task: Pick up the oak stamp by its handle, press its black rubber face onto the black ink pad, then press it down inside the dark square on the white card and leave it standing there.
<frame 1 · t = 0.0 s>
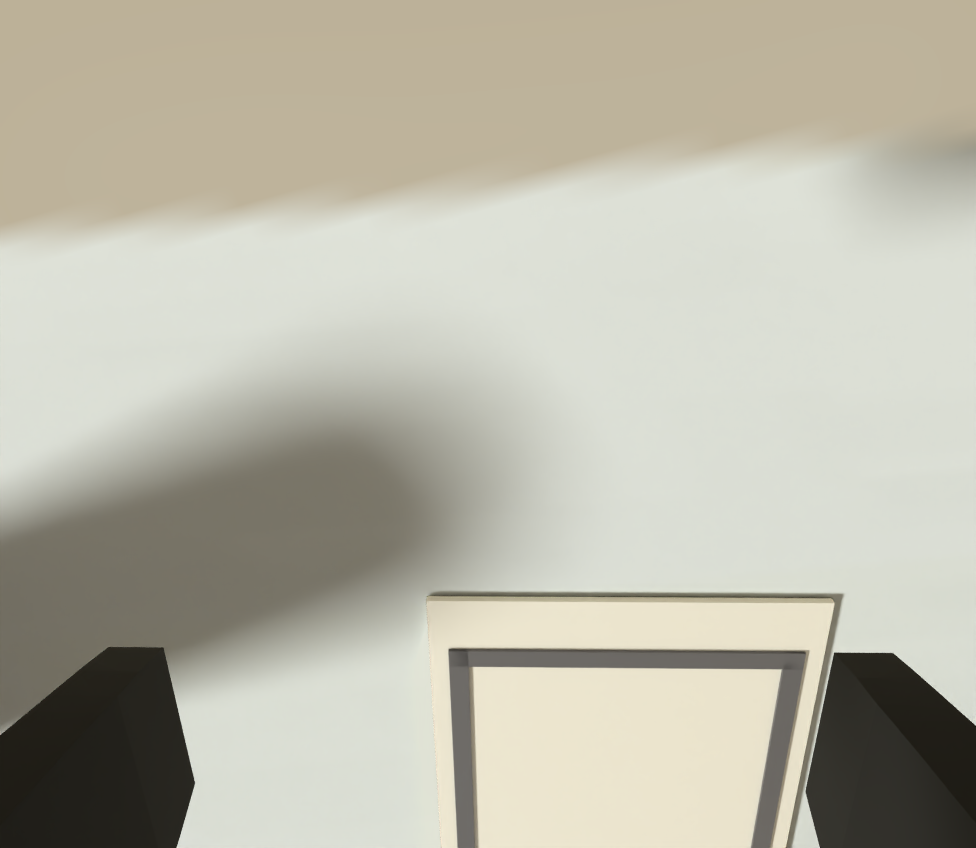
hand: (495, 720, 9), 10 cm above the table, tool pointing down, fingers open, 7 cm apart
marked card: (615, 771, 23), on the table
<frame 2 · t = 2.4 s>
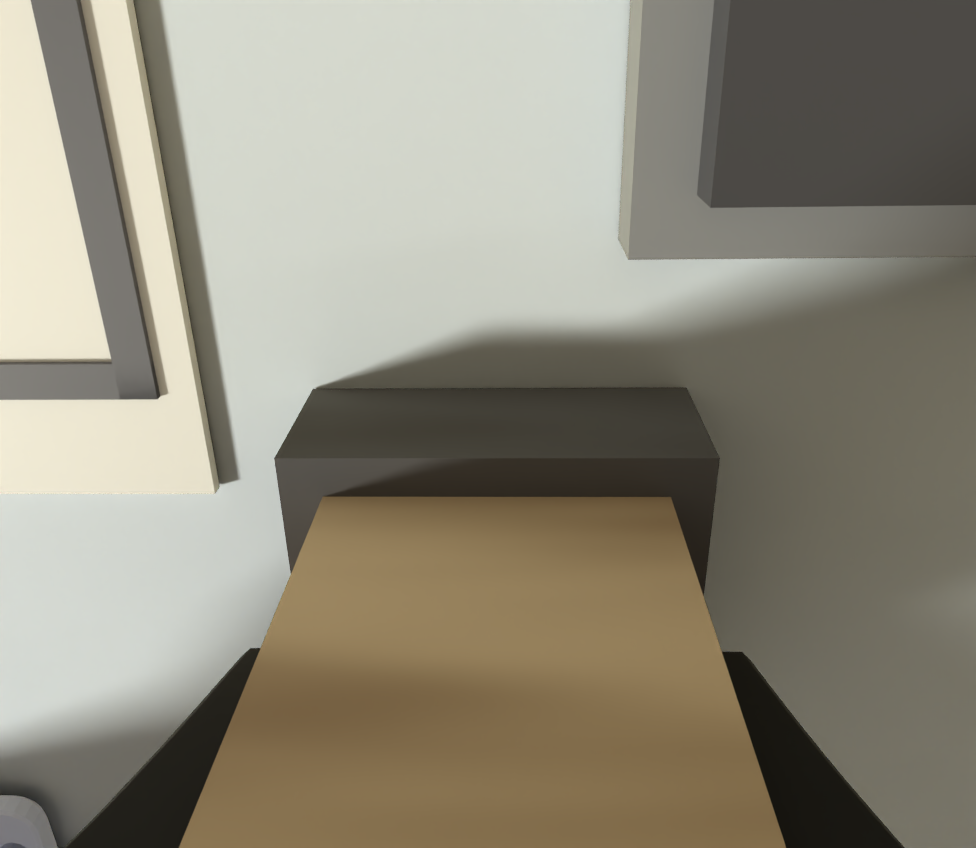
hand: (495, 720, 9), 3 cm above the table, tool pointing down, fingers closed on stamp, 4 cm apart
stamp: (500, 545, 12), on the table, touching gripper
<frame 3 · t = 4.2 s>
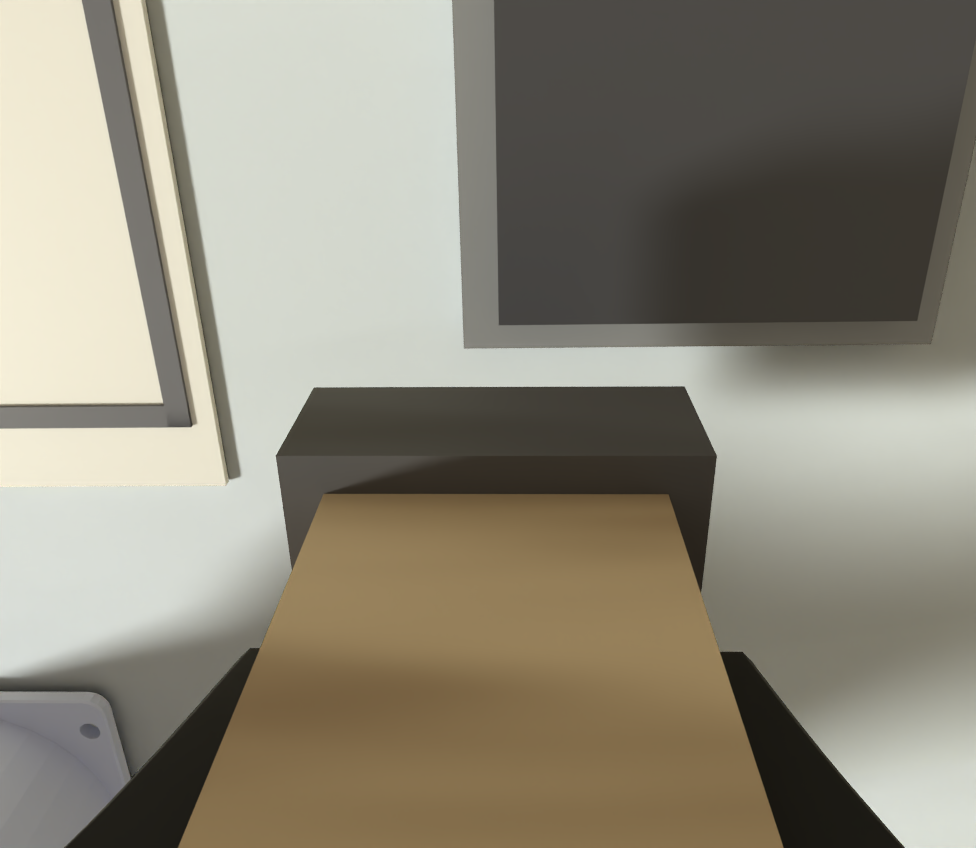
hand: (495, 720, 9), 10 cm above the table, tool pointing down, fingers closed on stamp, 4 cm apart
ink pad: (705, 94, 15), on the table
stamp: (499, 542, 12), point 6 cm above the table, touching gripper
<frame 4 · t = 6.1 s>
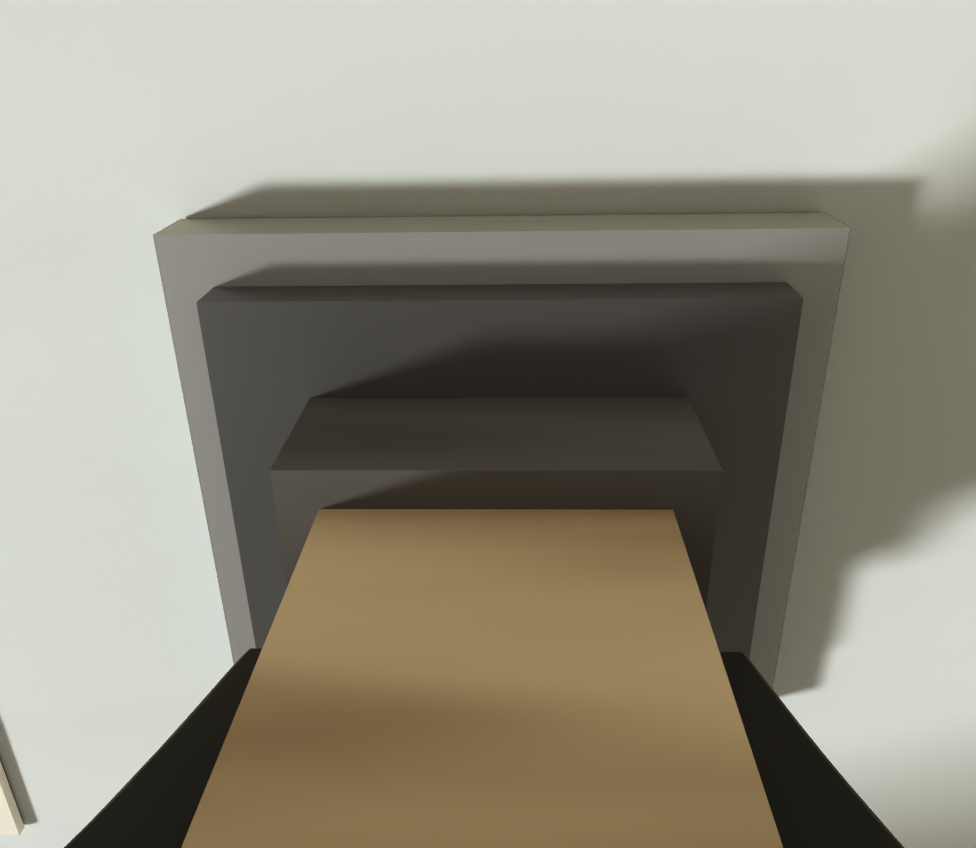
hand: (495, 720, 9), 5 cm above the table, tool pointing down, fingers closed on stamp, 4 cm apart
ink pad: (501, 494, 14), on the table
stamp: (499, 555, 12), point 2 cm above the table, touching gripper, ink pad
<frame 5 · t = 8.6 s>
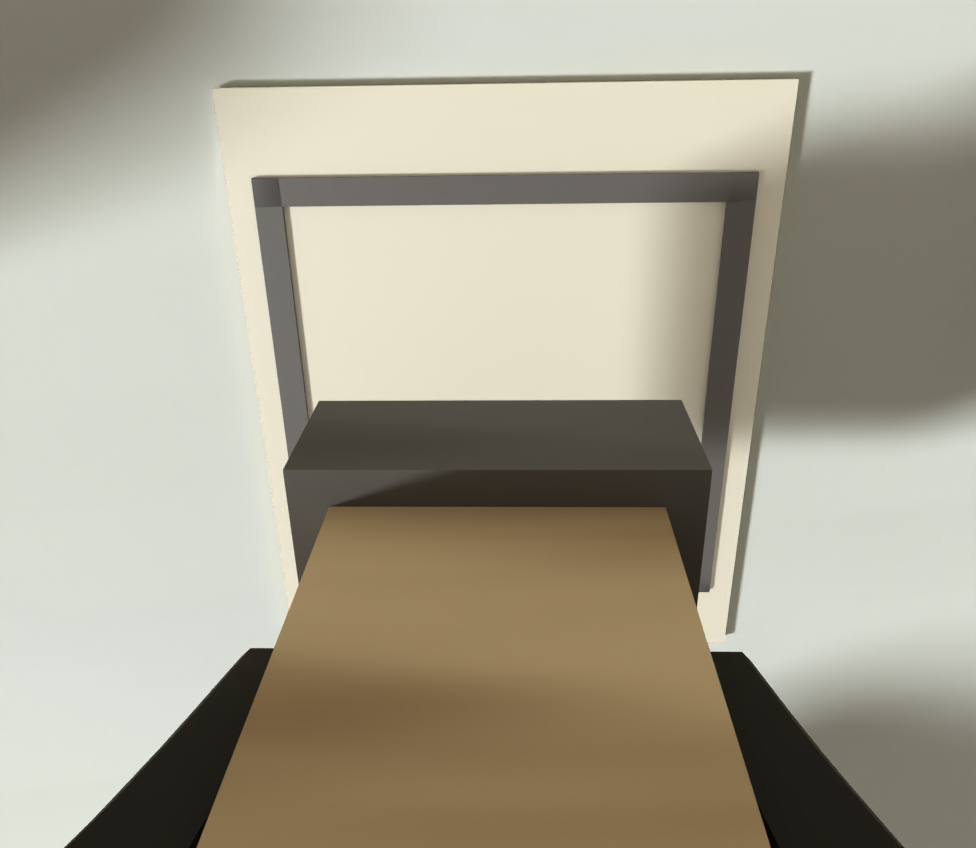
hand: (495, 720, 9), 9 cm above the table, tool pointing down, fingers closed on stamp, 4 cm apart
marked card: (504, 401, 17), on the table
stamp: (500, 551, 13), point 5 cm above the table, touching gripper
when the fingers open (4 cm above the table, at t = 10.1 s): stamp stays where it is, resting on marked card.
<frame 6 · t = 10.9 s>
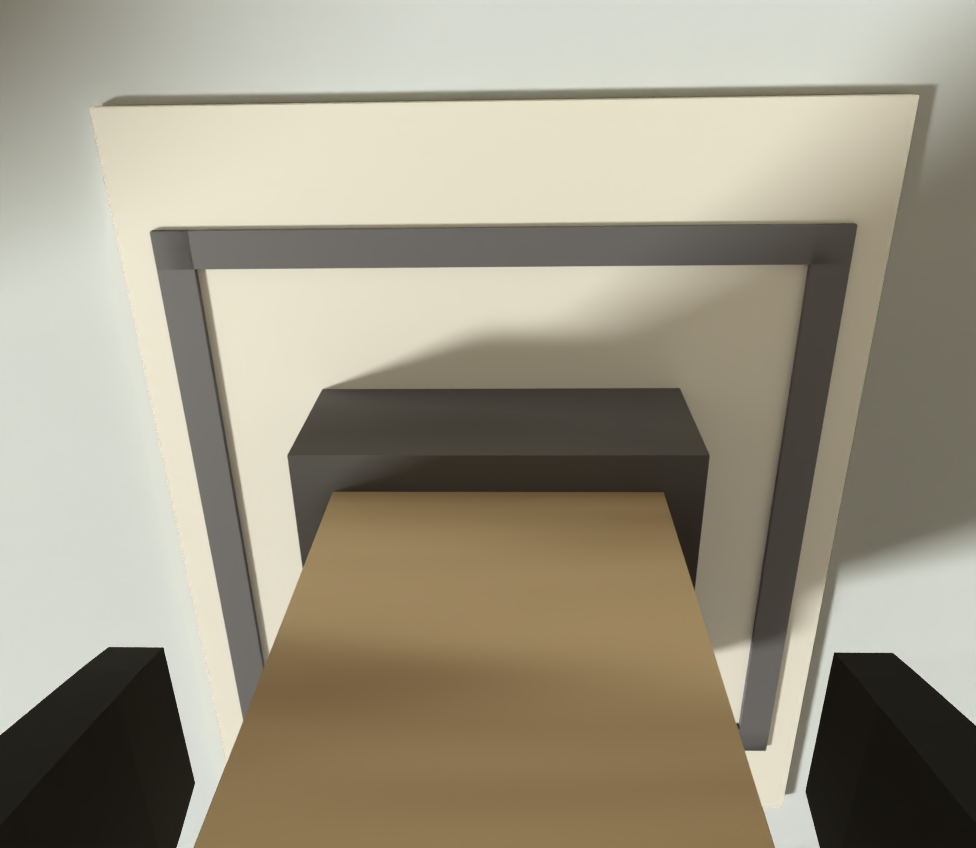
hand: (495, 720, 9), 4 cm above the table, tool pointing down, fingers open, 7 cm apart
marked card: (501, 517, 13), on the table
stamp: (501, 539, 13), resting on marked card
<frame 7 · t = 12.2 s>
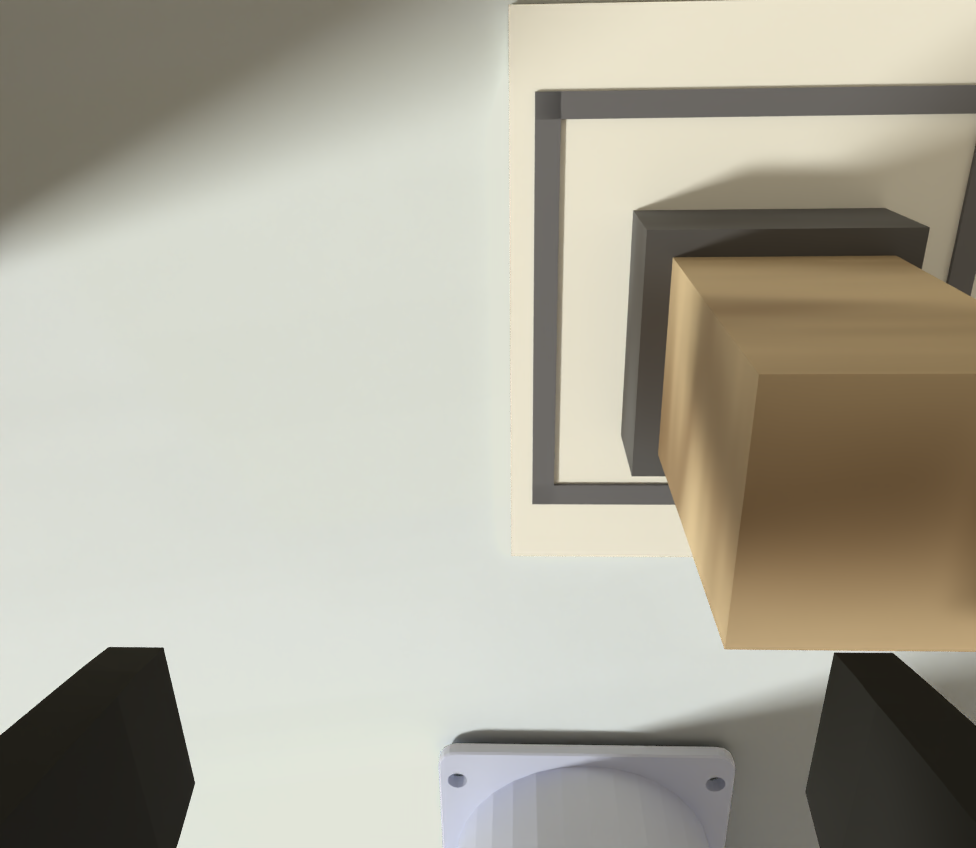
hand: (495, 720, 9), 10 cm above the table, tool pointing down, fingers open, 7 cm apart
marked card: (744, 314, 18), on the table
stamp: (744, 328, 18), resting on marked card
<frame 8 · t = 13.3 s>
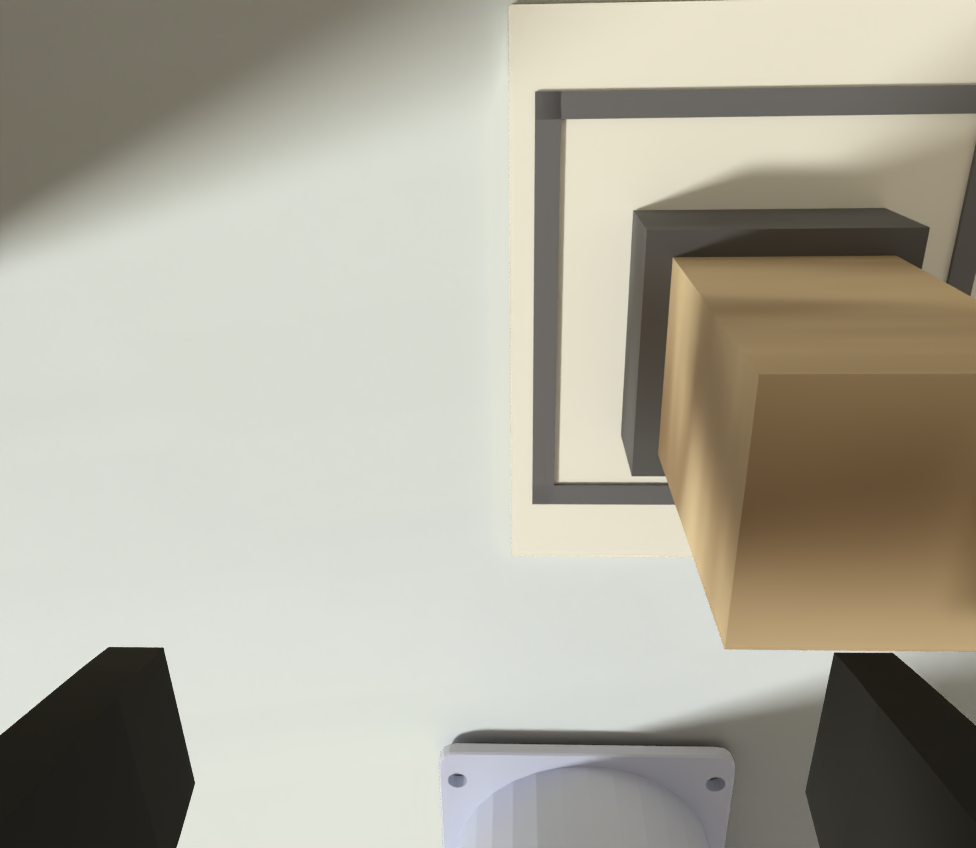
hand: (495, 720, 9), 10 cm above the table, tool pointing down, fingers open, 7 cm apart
marked card: (744, 314, 18), on the table
stamp: (744, 328, 18), resting on marked card
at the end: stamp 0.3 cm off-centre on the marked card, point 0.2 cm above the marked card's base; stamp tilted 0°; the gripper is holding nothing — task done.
